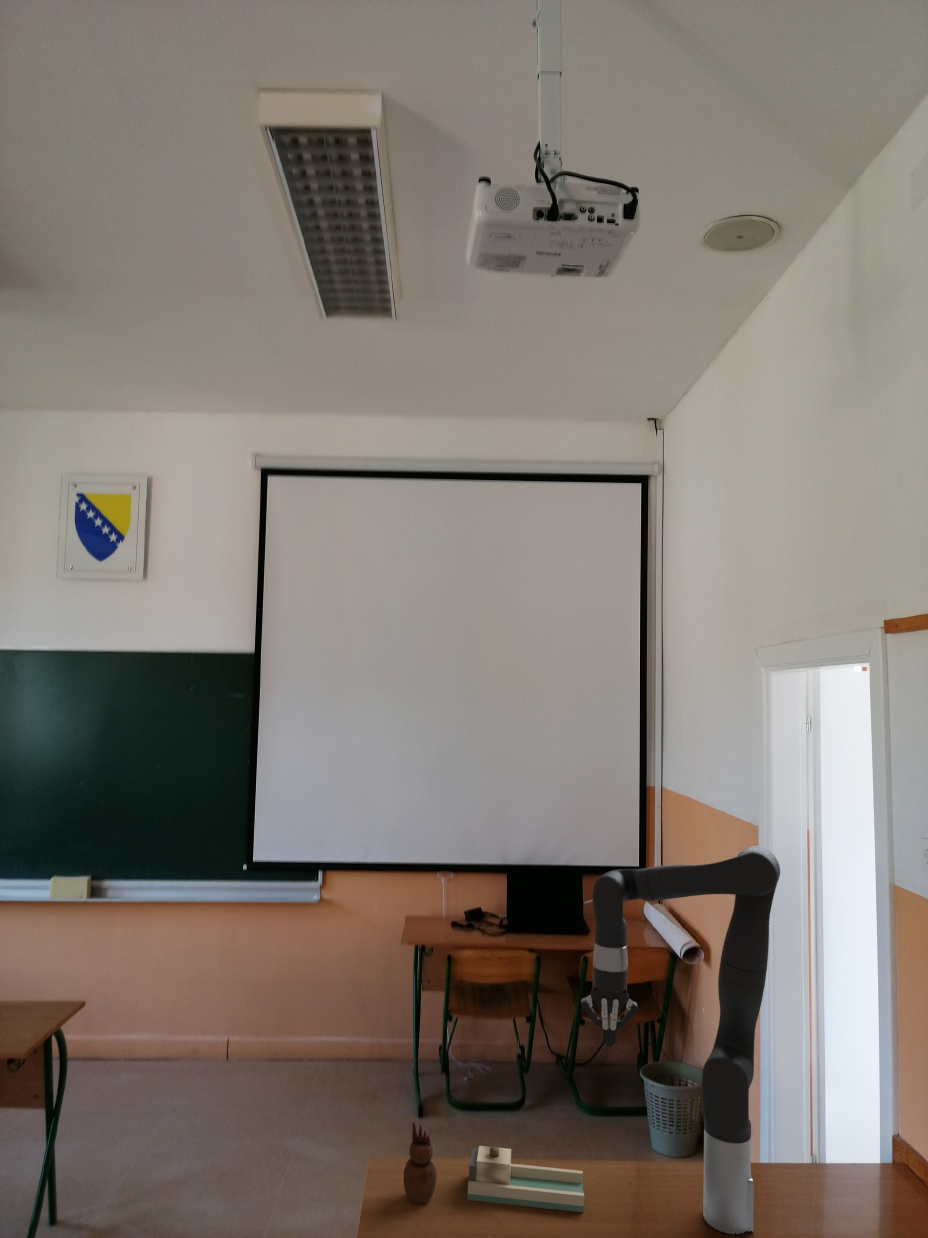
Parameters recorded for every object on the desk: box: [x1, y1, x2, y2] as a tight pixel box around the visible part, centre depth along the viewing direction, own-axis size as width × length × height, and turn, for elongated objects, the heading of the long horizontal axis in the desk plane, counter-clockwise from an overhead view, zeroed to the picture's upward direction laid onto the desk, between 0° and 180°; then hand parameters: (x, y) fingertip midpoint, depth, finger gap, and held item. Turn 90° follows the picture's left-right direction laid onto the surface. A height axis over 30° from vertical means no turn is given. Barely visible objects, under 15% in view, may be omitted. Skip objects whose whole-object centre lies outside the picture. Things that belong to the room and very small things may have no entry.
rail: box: [467, 1147, 585, 1213], centre depth 174 cm, size 24×9×6 cm, turn 84°
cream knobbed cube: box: [476, 1145, 512, 1185], centre depth 175 cm, size 7×6×7 cm
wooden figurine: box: [403, 1121, 438, 1205], centre depth 171 cm, size 7×6×15 cm
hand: (608, 1046), depth 181 cm, fingers closed
